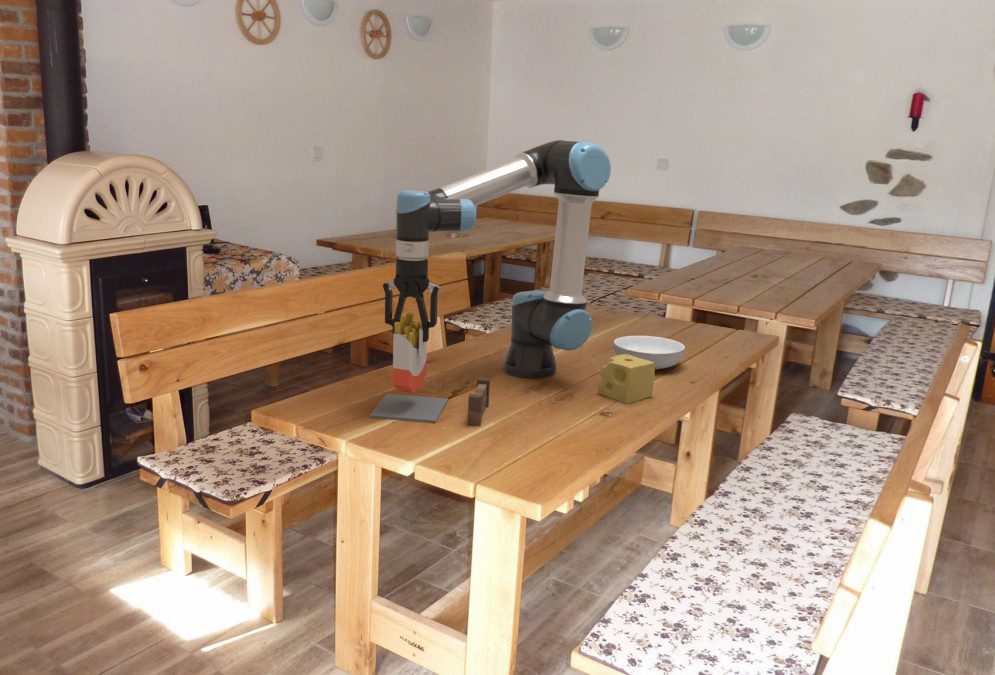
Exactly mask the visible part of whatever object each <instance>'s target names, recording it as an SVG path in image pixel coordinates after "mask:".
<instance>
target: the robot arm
mask: <svg viewBox="0 0 995 675" xmlns="http://www.w3.org/2000/svg"><path fill="white" fill-rule="evenodd" d="M611 166H612V165H611V160H610V157H609V155H608V154H607V152H606V151H605V149H604V148H603V147H602V146H601V145H599V144H596V143H592V142H588V141H573V140H572V141H571V140H564V139H563V140H562V139H561V140H560V139H559V140H552V141H549V142H545V143H542V144H540V145H538V146H535V147H533V148H530V149H527V150H524V151H522V152H519V153H518V154H517V155H516V157H515V159H511V160H510V161H507V162H505V163H502V164H498V165H497V166H494V167H490V168H488V169H485V170H483V171H480V172H477V173H475V174H473V175H470V176H467V177H465V178H462V179H459V180H457V181H453V182H452V183H449V184H446V185H444V186H441V187H438V188H435V189H432V190H430V191H425V190H413V189H411V190H410V189H409V190H401V191H399V193H398V194H397V197H396V198H397V199H396V206H395V216H396V218H395V219H396V220H395V221H396V225H395V226H396V233H395V234H396V237H395V256H397V258H396V259H395V277H394V279H393V280H391V281H386V282H384V283H383V284H382V288H383V291H384V324H386V325H390V326H391V327H392V339H393V334H394V333H395V324H394V323H395V322H400V317H402V315H403V310H404V307H405V304H406V300H407V298H414V299H415V302H416V304H417V309H418V314H419V318H420V322H421V323H422V327H421V328H420V329H419V356H422V355H423V354H424V342H426V343H427V342H429V339H430V336H429V335H430V328H435V326H437V323H438V298H439V297H438V295H439V292H440V289H441V286H440V285H439V284H434V283H431V281H430V280H429V260H428V257H429V240H430V239H429V236H430V233H435V232H458V233H459V232H462V231H463V232H464V231H469V230H472V229H473V227H474V226H475V224H476V221H477V210H476V206H479V205H481V204H484V203H487V202H489V201H491V200H494V199H497V198H500V197H502V196H504V195H506V194H509V193H512V192H514V191H516V190H519V189H521V188H522V189H523V188H524V187H526V188H528V189H532V188H535V187H537V186H538V187H539V186H543V185H554V188H553V194H554V195H555V197H556V198H557V200H558V207H557V218H556V226H555V236H554V243H553V247H554V248H553V253H552V254H553V255H552V264H551V273H550V274H551V275H550V284H549V290H548V291H547V290H528V291H526V290H525V291H519V292H517V293H515V294H514V295H513V297H512V301H511V302H512V303H511V327H510V330H511V331H510V333H511V334H510V344H509V347H508V350H507V352H506V355H505V358H504V359H503V371H504V372H505V373H506V374H507V375H511V376H513V377H518V378H523V379H524V378H526V379H540V378H541V379H542V378H547V377H552V376H553V375H555V374H557V362H556V358H555V355H554V351H553V350H554V349H553V348H556V349H558V350H564V351H567V352H569V351H575V350H578V349H579V348H581V347H582V346H583V345H584V343H586V342H587V341H588V339H589V338H590V336H591V334H592V332H593V319H592V317H591V315H590V314H589V312H588V311H586V310H587V299H586V298H585V296H584V295H583V285H584V276H585V275H584V274H585V268H586V267H585V266H586V257H587V251H588V250H587V249H588V240H589V230H590V224H591V223H590V222H591V214H592V205H593V203H594V202H595V201H596V200H597V199H598V198H599V196H600V190H602V189H603V188H604V187H605V186H606V183H608V182H609V180H610V177H611V171H612V170H611V169H612V168H611ZM395 287H396V289H397V290H398V292H399V296H398V299H397V300H398V301H397V304H396V308H395V312H394V316H393V300H394V298H393V290H394V288H395ZM427 289H429V290H428V291H429V294H430V302H429V304H430V305H429V307H430V308H429V309H430V310H429V311H430V312H429V316H428V312H427V308H426V307H427V306H426V304H425V296H424V293H425V291H426V290H427Z"/></svg>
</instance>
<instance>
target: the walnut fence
mask: <svg viewBox="0 0 995 675" xmlns="http://www.w3.org/2000/svg"><path fill="white" fill-rule="evenodd" d="M490 387H491V378H490V377H480V376H478V377H477V379H476V389H475V391H474V393H470V394H469V395H468V401H467V403H468V405H467V406H468V407H467V425H468V426H476V425H478V426H479V427H480V426H482V421H483V418H482V417H483V416H484V413H485V411H486V408H489V406H490V389H491V388H490ZM484 410H485V411H484Z"/></svg>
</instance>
